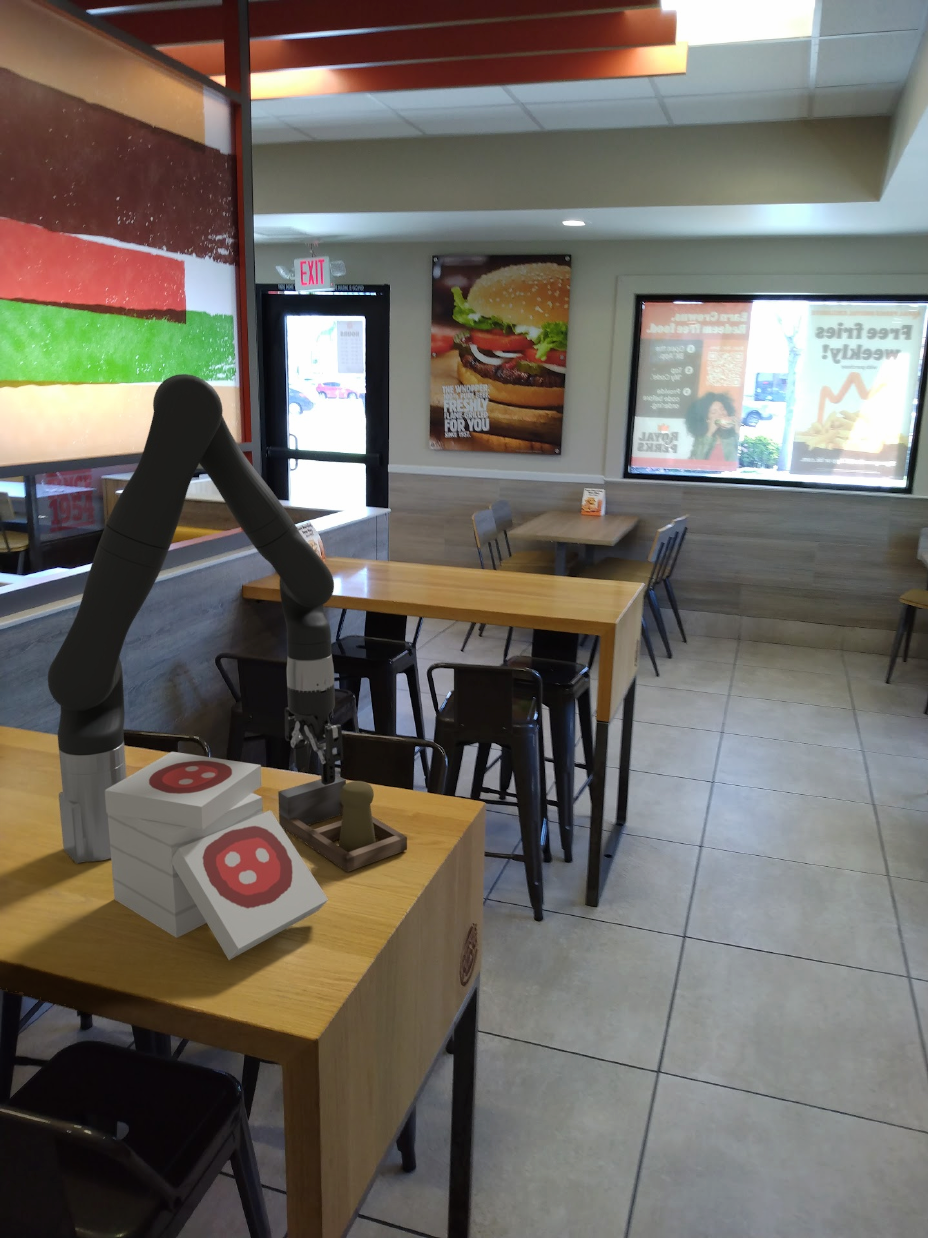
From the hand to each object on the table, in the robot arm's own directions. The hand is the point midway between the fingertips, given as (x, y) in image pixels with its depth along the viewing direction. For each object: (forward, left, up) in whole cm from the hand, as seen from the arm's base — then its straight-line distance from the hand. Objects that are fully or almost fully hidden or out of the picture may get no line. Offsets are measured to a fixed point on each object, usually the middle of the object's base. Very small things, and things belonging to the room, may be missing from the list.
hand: (314, 775), depth 153 cm
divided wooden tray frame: (0, -8, -8) cm, 12 cm away
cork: (0, -13, -8) cm, 15 cm away
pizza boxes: (-25, -15, -9) cm, 30 cm away
